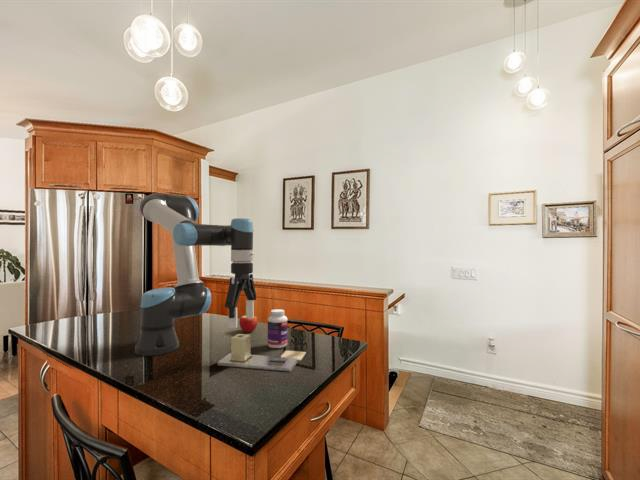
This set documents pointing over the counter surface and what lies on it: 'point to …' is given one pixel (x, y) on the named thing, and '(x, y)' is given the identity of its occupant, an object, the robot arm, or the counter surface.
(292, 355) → the coaster
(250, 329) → the apple
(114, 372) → the counter surface
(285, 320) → the pill bottle
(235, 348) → the tan block with knob
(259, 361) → the rail
